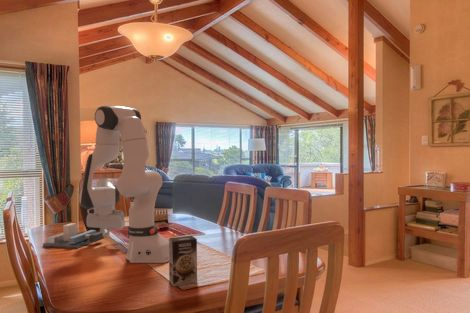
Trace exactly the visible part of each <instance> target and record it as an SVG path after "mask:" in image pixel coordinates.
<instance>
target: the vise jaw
mask: <svg viewBox="0 0 470 313" xmlns="http://www.w3.org/2000/svg"><path fill="white" fill-rule="evenodd" d="M86 239H89V242H92V243H96V242H98V241H101V240H103V239H105V237H103V236H102V232H101V231H97V232H96V230H89V231H87V230H86V231H84V232H82V233H78V235H76V236H73V237H70V238H69V244H76V243H78V242H81V241H83V240H86Z"/></svg>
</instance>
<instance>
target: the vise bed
mask: <svg viewBox="0 0 470 313" xmlns="http://www.w3.org/2000/svg"><path fill="white" fill-rule="evenodd" d="M78 234H79V230H78V229H77V235H78ZM92 243H93V242H89V239H86V240H83V241H81V242H78V243H76V244H69V241H64V237H63V232H61V233H57V234H54V235H51V236H48V237H47V242H43V243H42V247H45V248H46V247H47V248H62V249H77V250H78V249H79V248H82V247H84V246H86V245H89V244H92Z"/></svg>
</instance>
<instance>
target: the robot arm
mask: <svg viewBox="0 0 470 313" xmlns="http://www.w3.org/2000/svg"><path fill="white" fill-rule="evenodd" d="M94 120H95V121H94V122H95V123H96V125H97V127H96V133H95V147H94V150H93V152H91V153H90V154H89V155H88V157H87V159H86V164H85V169H84V174H83V180H82V184H81V190H80V193H79V197H78V200H79V202H78V203H79V204H80V205H81V206H83V207H84V208H86V209H88V208H91V209H88V210H87V213H88V215H87V226H88V227H93V228H100V232H102V236H103V237H104V238H106V237H107V238H109V237H110V233H111V231H112V229H116V230H122V229H124V228H125V227H126V221H125V213H124V211H122V210H121V209H120V210H118V209H115V206H116V205H117V204H119V202H120V198H121V197H120V195H121V196H124V197H128V198H129V197H131V198H134V199H133V201H132V204H130V206H129V209H128V227H127V235H128V247H127V252H126V257H125V259H126V260H127V261H129V263H130V264H164V263H167V262H168V263H169V239H166V238H165V237H164V236H162V234H161V233H159V230H160V228H159V227H156V226H155V224H154V211H155V206H156V200H157V196H158V193H159V191H160V189H161V188H162V186H163V177H162V175H161V174H160V173H159V172H158V171H156V170H153V169H151V170H150V169H146V163H147V160H148V159H149V157H150V152H149V146H148V140H147V134H146V130H145V127H144V125H143V122H142V115H141V113H140V111H139V110H138V109H136V108H135V107H131V106H130V107H127V106H121V105H103V106H102V105H101V106H99V107H98V108H97V109H96V110H95V112H94ZM120 140H121V148H122V154H123V165H122V172H121V174H120V176H119V177H118V178H117V182H116V186H115V184H114V180H113V179H112V178H111V177H110V178H107V177H105V178H100V179H98V180H97V181H96V186H95V187H93V186H92V185H93V180H94V174H95V171H96V170H97V168H99V167H101V166H103V165H105V164H107V163H108V164H109V163H110V162H112V161H114V160H116V158H117V157H118V156H119V154H120ZM80 205H79V206H80ZM105 229H106V230H105Z"/></svg>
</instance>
